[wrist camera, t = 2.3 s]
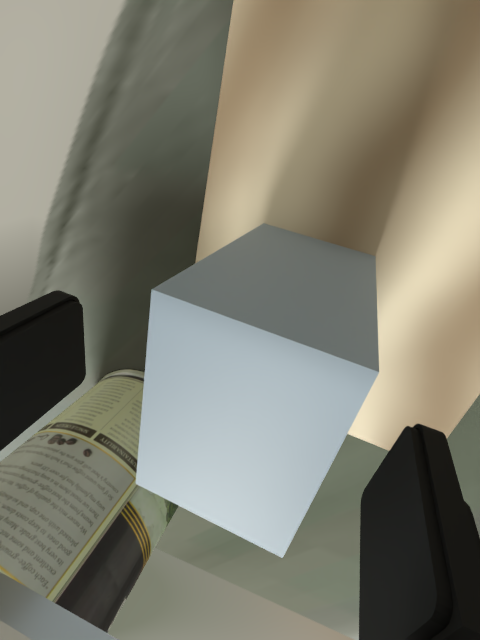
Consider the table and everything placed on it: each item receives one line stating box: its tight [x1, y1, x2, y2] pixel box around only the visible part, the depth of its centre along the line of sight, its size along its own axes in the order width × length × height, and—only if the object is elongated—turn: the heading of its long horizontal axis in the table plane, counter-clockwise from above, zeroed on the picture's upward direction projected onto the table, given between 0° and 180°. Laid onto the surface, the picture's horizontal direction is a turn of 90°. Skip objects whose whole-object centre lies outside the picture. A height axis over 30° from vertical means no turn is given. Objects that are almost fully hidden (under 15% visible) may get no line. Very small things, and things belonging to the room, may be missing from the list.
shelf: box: [195, 0, 480, 451], centre depth 14 cm, size 14×20×3 cm
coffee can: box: [0, 369, 179, 633], centre depth 20 cm, size 10×10×14 cm
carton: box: [136, 223, 379, 558], centre depth 12 cm, size 5×7×9 cm
